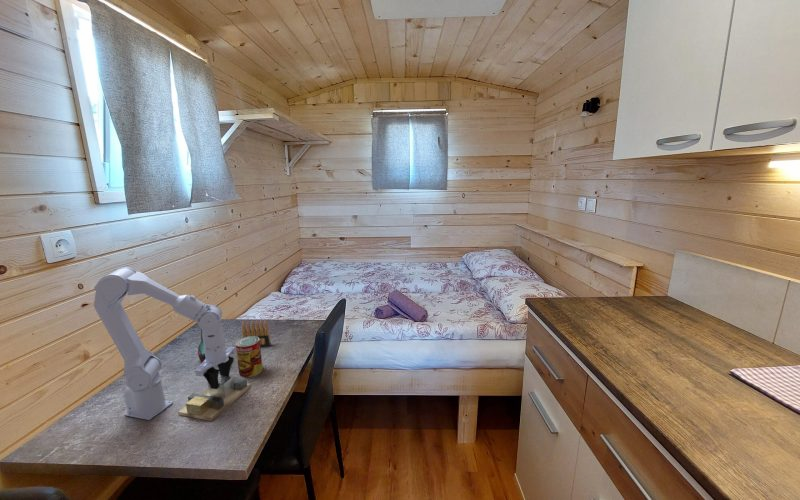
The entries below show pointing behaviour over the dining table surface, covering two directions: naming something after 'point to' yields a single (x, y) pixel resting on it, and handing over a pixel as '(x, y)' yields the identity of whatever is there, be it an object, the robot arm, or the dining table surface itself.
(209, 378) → the robot arm
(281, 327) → the dining table surface
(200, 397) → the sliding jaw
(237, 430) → the dining table surface
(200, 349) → the power drill
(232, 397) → the vise
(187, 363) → the dining table surface
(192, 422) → the dining table surface
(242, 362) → the canned food
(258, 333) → the ammunition clip
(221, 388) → the steel block
